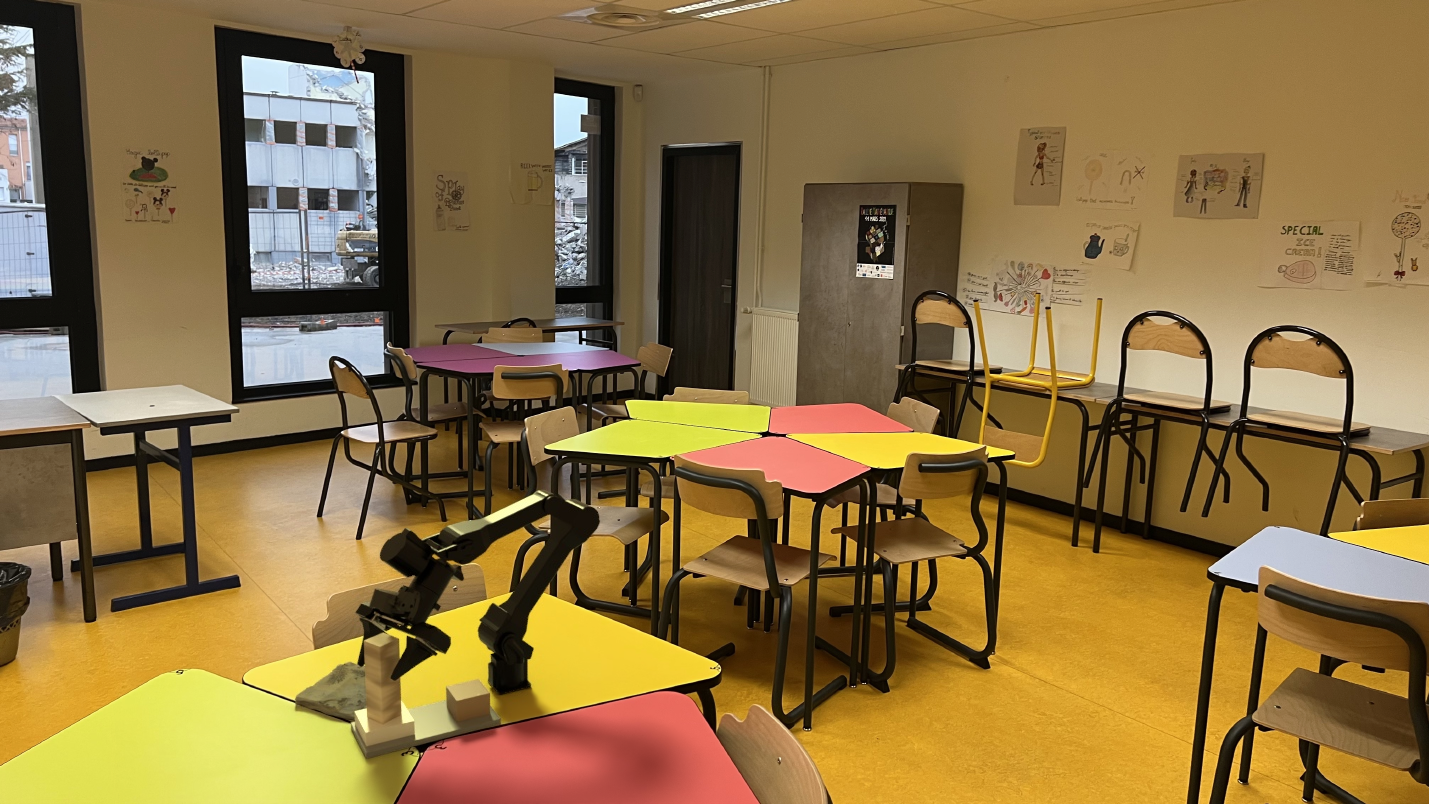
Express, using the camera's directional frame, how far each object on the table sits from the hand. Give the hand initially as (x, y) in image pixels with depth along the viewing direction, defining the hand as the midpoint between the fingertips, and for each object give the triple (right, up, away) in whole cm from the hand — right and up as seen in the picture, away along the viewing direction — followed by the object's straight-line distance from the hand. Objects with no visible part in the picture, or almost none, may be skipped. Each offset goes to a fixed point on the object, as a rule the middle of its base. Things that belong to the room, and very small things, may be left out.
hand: (375, 672), depth 168 cm
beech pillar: (+1, -8, +3) cm, 9 cm away
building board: (+7, -11, +7) cm, 15 cm away
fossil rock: (-11, -9, +17) cm, 22 cm away
